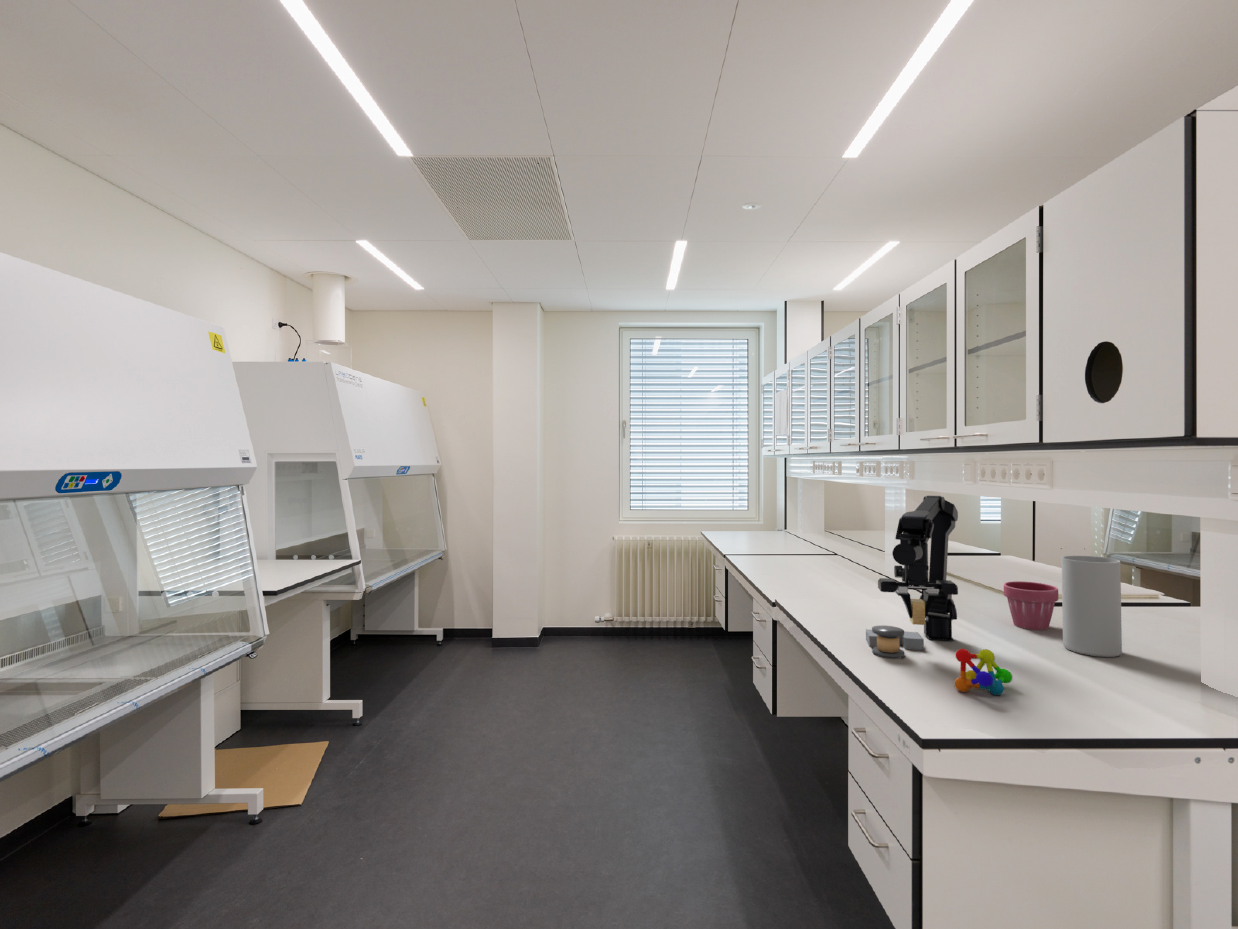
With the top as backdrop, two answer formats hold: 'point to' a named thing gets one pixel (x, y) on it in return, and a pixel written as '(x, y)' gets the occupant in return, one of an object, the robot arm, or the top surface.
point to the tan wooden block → (918, 611)
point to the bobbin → (888, 642)
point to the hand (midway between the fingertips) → (917, 618)
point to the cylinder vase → (1092, 605)
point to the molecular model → (981, 672)
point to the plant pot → (1031, 603)
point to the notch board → (907, 640)
